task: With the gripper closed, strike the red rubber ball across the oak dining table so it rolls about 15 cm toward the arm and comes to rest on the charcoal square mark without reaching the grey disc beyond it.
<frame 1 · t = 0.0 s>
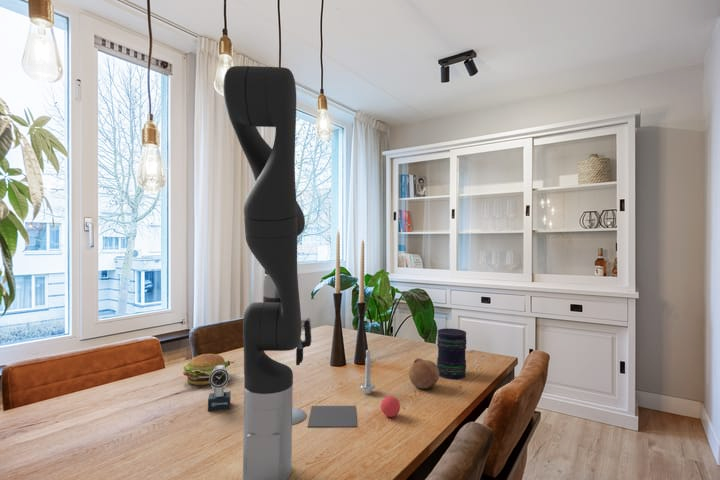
hand: (279, 364, 89), 17 cm above the table, tool pointing down, fingers open, 8 cm apart
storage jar: (451, 375, 135), on the table
watch: (219, 407, 106), on the table
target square: (332, 416, 101), on the table
onion: (424, 388, 122), on the table
screw: (367, 393, 118), on the table
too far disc: (286, 416, 101), on the table
ball: (390, 406, 102), on the table
food: (206, 380, 127), on the table
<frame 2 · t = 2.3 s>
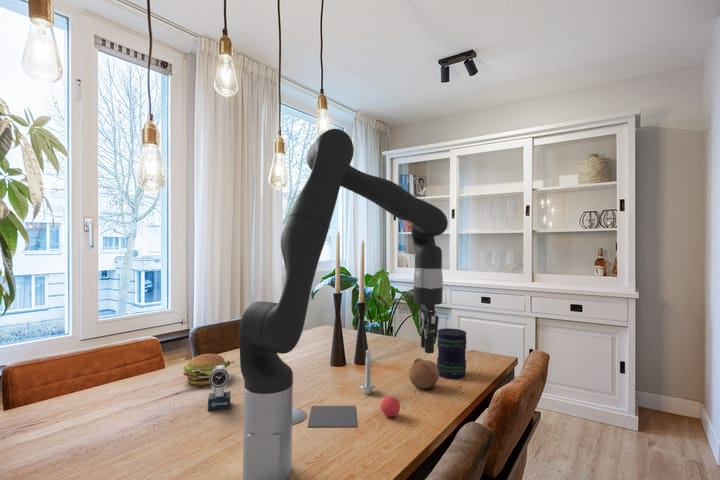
hand: (427, 349, 102), 17 cm above the table, tool pointing down, fingers open, 4 cm apart
nothing on the table moved.
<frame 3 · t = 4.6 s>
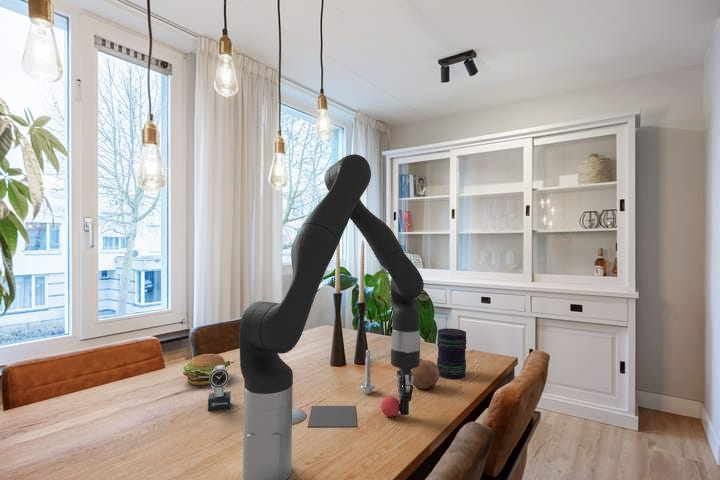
hand: (404, 413, 101), 1 cm above the table, tool pointing down, fingers closed
ball: (390, 406, 102), on the table, touching gripper
everything else where it was.
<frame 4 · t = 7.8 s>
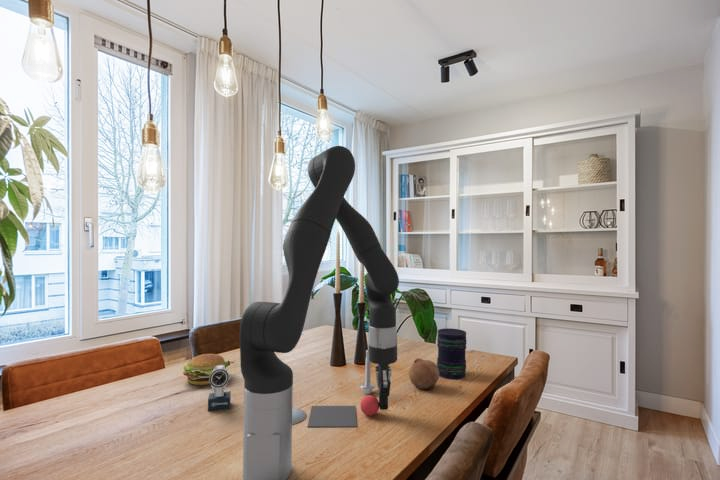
hand: (383, 408, 102), 2 cm above the table, tool pointing down, fingers closed
ball: (369, 405, 103), on the table, touching gripper
everything else where it was.
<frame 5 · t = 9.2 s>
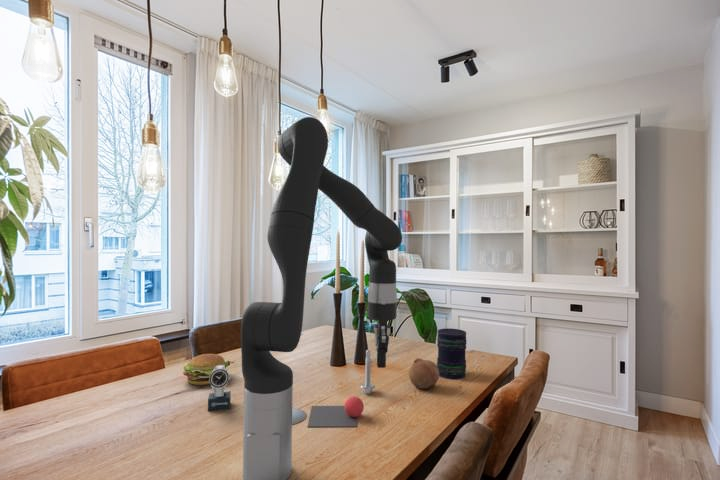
hand: (381, 366, 101), 13 cm above the table, tool pointing down, fingers closed
ball: (354, 406, 101), on the table
everything else where it was.
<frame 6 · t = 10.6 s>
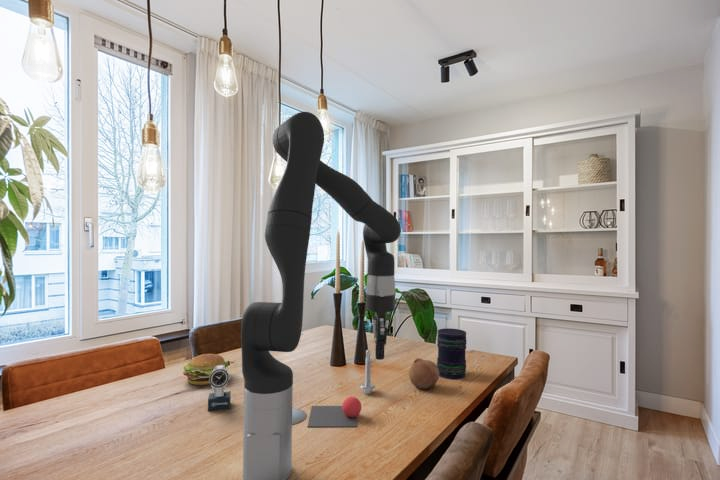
hand: (379, 358, 102), 15 cm above the table, tool pointing down, fingers closed
nothing on the table moved.
at the end: ball 4.9 cm from the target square (horizontally); ball at rest at the end (0.0 cm/s); ball moved 10.2 cm from its start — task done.
